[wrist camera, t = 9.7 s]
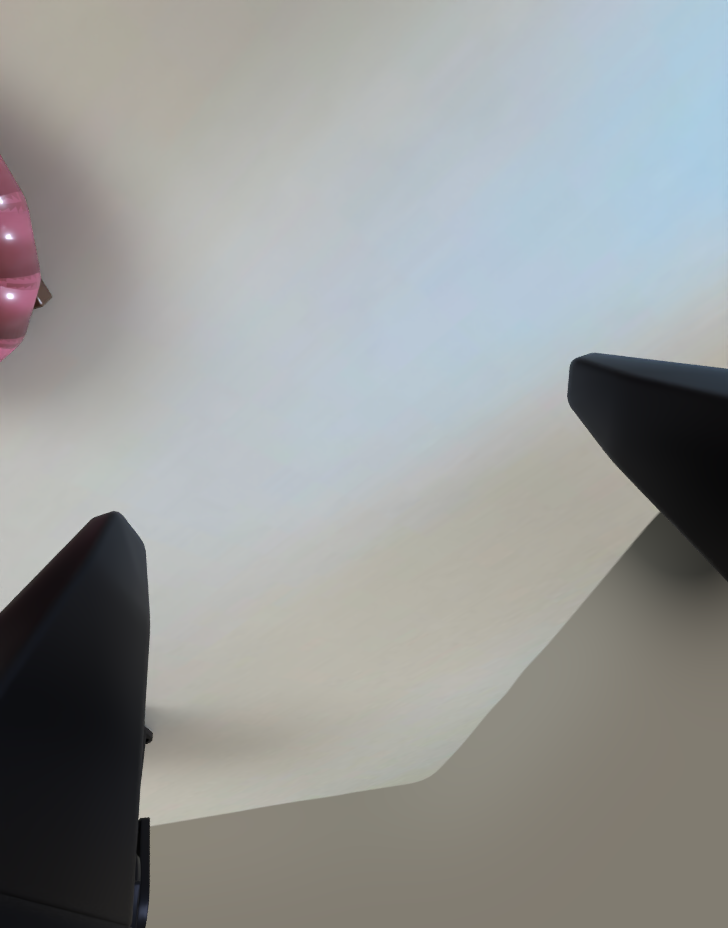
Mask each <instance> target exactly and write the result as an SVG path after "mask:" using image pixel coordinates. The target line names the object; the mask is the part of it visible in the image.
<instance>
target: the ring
mask: <svg viewBox="0 0 728 928" xmlns="http://www.w3.org/2000/svg"><path fill="white" fill-rule="evenodd" d="M40 281H41V274H40V266H39V261H38V255H37V250H36V245H35V240H34V235H33V230H32V224H31V219H30V214H29V209H28V206H27V202H26V199H25V197H24V195H23V193H22V191H21V189H20V187H19V186H18V184H17V182H16V181H15V179H14V177H13V175H12V174H11V172H10V170H9V169H8V167H7V165H6V163H5V162H4V160H3V158H2V157H1V155H0V362H1V361H2V360H3V359H4V358H6V357H7V356H8V355H9V354H10V353H11V352H12V351H13V350H14V349H15V348H16V347H18V346H19V344H20V343H21V342H22V341H23V339H24V337H25V334H26V332H27V329H28V325H29V322H30V318H31V315H32V311H33V308H34V304H35V301H36V297H37V294H38V290H39V287H40Z"/></svg>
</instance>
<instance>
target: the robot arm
mask: <svg viewBox="0 0 728 928" xmlns="http://www.w3.org/2000/svg"><path fill="white" fill-rule="evenodd" d="M567 397H568V402H569V405H570V407H571V408H572V410H573V411H574V412H575V413H576V415H577V416H578V417H579V419H580V420H581V421H582V423H583V424H584V425H585V427H586V428H587V429H588V431H589V432H590V433H591V434H592V436H593V437H594V438H595V440H596V441H597V442H598V444H599V445H600V446H601V448H602V449H603V450H604V451H605V453H606V454H607V455H608V456H609V458H610V459H611V460H612V461H613V462H614V463H615V465H616V466H617V467H618V468H619V469H620V470H621V471H622V472H623V473H624V474H625V475H626V476H627V477H628V478H629V479H630V480H631V481H632V483H633V484H634V485H635V486H636V487H637V488H638V489H639V490H640V491H641V492H642V493H643V494H644V495H645V496H646V497H647V498H648V499H649V500H650V501H651V502H652V503H653V504H654V505H655V506H656V508H657V509H658V510H659V511H660V512H661V513H662V514H663V515H664V516H665V517H666V518H667V519H668V520H669V521H670V522H671V523H672V524H673V525H674V526H675V527H676V528H677V529H678V530H679V531H680V533H682V535H683V536H684V537H685V538H686V539H687V540H688V541H689V542H690V543H691V544H692V545H693V546H694V547H695V548H696V549H697V550H698V551H699V552H700V553H701V554H702V555H703V556H704V557H705V559H707V560H708V562H709V563H710V564H711V565H712V566H713V567H714V568H715V569H716V570H717V571H718V572H719V573H720V574H721V575H722V576H723V577H724V578H725V579H726V580H727V581H728V369H724V368H716V367H708V366H700V365H691V364H683V363H675V362H667V361H658V360H650V359H642V358H634V357H625V356H617V355H609V354H601V353H590V354H587V355H584V356H581V357H578V358H575V359H574V360H573V361H572V362H571V364H570V369H569V381H568V393H567ZM149 638H150V609H149V594H148V579H147V563H146V550H145V546H144V544H143V542H142V540H141V539H140V537H139V536H138V535H137V533H136V532H135V531H134V529H133V528H132V527H131V525H130V524H129V523H128V522H127V520H126V519H125V518H124V516H123V515H122V514H120V513H119V512H116V511H112V512H109V513H106V514H103V515H100V516H97V517H94V518H93V519H91V520H90V521H89V522H88V523H87V524H86V525H85V526H84V527H83V528H82V529H81V530H80V531H79V532H78V534H77V535H76V536H75V537H74V538H73V539H72V540H71V541H70V542H69V543H68V544H67V545H66V546H65V547H64V548H63V549H62V550H61V551H60V552H59V553H58V554H57V555H56V556H55V557H54V558H53V559H52V560H51V561H50V562H49V563H48V564H47V565H46V566H45V567H44V568H43V569H42V570H41V571H40V573H39V574H38V575H37V576H36V577H35V578H34V579H33V580H32V581H31V582H30V583H29V584H28V585H27V586H26V587H25V588H24V589H23V590H22V591H21V592H20V593H19V594H18V595H17V596H16V597H15V598H14V599H13V600H12V601H11V602H10V603H9V604H8V605H7V606H6V607H5V608H4V609H3V610H2V611H1V613H0V928H145V926H146V920H147V913H148V905H149V887H150V885H149V884H150V879H149V878H150V856H149V855H150V818H149V817H148V818H140V819H139V820H138V817H139V801H140V786H141V777H142V769H143V760H144V751H145V744H148V743H150V742H151V741H152V738H153V733H152V732H151V731H150V730H149V729H147V728H146V727H145V726H144V719H145V703H146V687H147V671H148V654H149Z"/></svg>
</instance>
